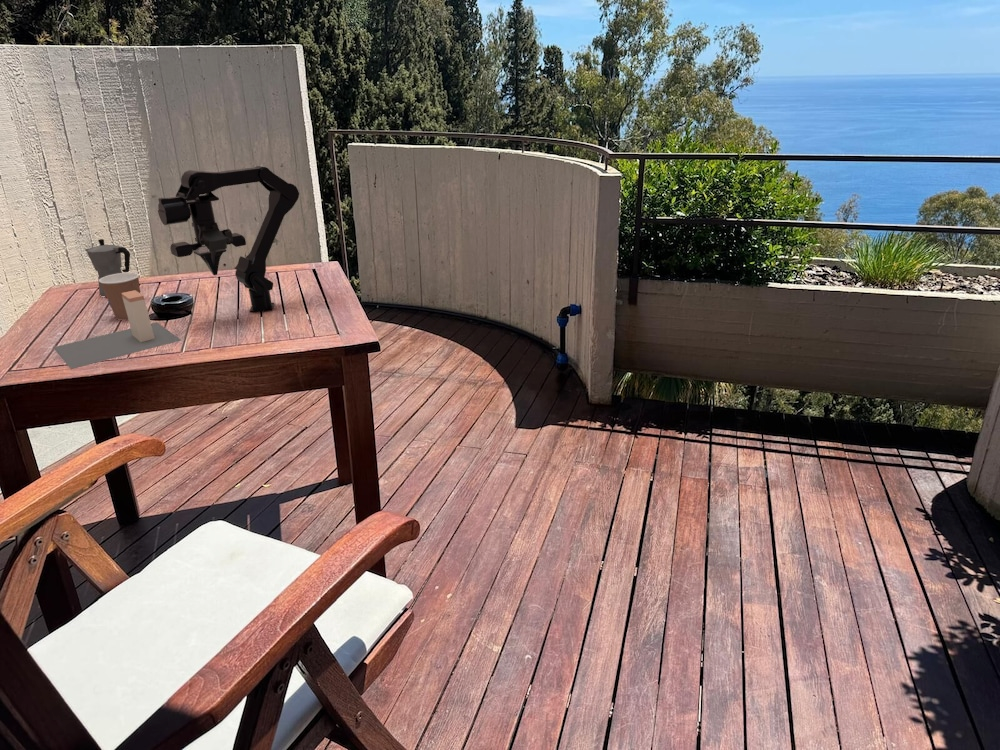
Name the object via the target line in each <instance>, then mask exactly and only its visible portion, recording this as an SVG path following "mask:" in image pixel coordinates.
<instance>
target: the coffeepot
mask: <svg viewBox="0 0 1000 750" xmlns="http://www.w3.org/2000/svg"><path fill="white" fill-rule="evenodd" d="M97 241H98V243H99V245H96V246H93V247H88V248H86V249H84V251H85V252H86V253H87V255H88V258H89V260H90V261H91V263H92V266H93V269H94V270H95V272H97V275H98V276H97V277H98V278H97V279H98V290H99V296H100V295H101V296H105V297H106V294H105V292H104V289H103V287H102V285H101V283H100V282H99V279H101V278H103V277H105V276H108V275H112V274H118V273H130V260H131V253H130V251H129V250H128V249H127V248H126V247H125V246H120V245H115V244H105V239H101V238H100V239H98V240H97ZM122 254H123V255H124V268H123V269H122V266H123V265H122V256H121V255H122ZM101 296H100V297H101Z"/></svg>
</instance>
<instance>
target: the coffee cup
mask: <svg viewBox="0 0 1000 750" xmlns="http://www.w3.org/2000/svg"><path fill="white" fill-rule="evenodd" d="M139 277H140V275H139V273H136V272H122V273H118V274H112V275H108V276H105V277H103V278H101V279H99V282H100V283H101V285H102V287H103V289H104V292H105V294H106V297H107V298H106V299H107V302H108V304H109V307H110V308H111V311H112V313H113V315H114V317H115V318H116V320H117V319H118V321H123V320H128V316H127V312H126V309H125V305H124V301H123V298H122V294H121V293H124V292H129V291H134V290H136V291H137V292H139V293H140V294H141V287H140V279H139ZM99 282H98V283H99Z"/></svg>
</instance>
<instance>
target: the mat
mask: <svg viewBox="0 0 1000 750" xmlns="http://www.w3.org/2000/svg"><path fill="white" fill-rule="evenodd" d="M151 326H152V330H153V334H154V338H155V339H151V340H148V341H144V342H140V341H139V340H138V339H136V338H135V337H134V336H133V334H132V330H131V328H127V329H123V330H120V331H115V332H114V331H113V332H110V333H106V334H102V335H98V336H93V337H90V338H86V339H82V340H77V341H74V342H69V343H65V344H61V345H56V346H52V348H53V350H54V351H55V352H56V353H57V354H58V356H60V358H61V359H62V360H63V361H64V363H65V364H66V365H67V367H69V369H70V370H73V369H77V368H81V367H84V366H88V365H93V364H96V363H100V362H104V361H108V360H111V359H114V358H119V357H122V356H126V355H132V354H135V353H139V352H142V351H145V350H150V349H154V348H157V347H160V346H165V345H169V344H173V343H177V342H180V341H182V339H181V338H179V337H178V336H177V335H176V334H174V333H173V332H171V331H170V330H168V329H167V328H165V326H163V325H162V324H160V323H159V322H158V321H156V322H151Z"/></svg>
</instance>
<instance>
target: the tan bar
mask: <svg viewBox="0 0 1000 750" xmlns="http://www.w3.org/2000/svg"><path fill="white" fill-rule="evenodd" d="M121 294H122V298H123V301H124V305H125V309H126V312H127V316H128V319H127V320H128V323H129V326H130V329H131V330H132V334H133V336H134V337H135V338H136V339H138V340H139V341H140V342H144V341H148V340H151V339H155V338H154V334H153V330H152V326H151V324H152V322H151V320H150V319H151V318H150V315H149V312H148V308H147V305H146V304H147V303H146V301H145V296H144V295H143V293H141V292H140V293H139V292H137V291H136V290H134V291H129V292H124V293H121Z"/></svg>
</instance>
